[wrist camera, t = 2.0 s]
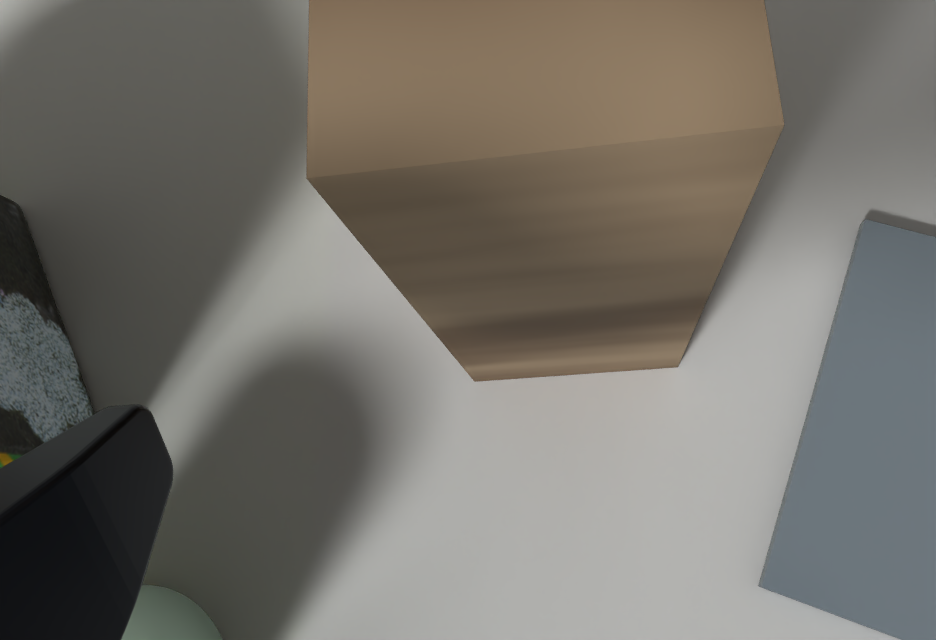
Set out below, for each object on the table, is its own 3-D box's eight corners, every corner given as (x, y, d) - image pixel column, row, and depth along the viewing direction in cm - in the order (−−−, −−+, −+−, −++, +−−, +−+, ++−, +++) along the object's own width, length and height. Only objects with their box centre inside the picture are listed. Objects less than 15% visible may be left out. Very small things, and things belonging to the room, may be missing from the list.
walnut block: (677, 366, 19) (783, 125, 8) (474, 381, 20) (305, 177, 9) (656, 178, 21) (722, -260, 9) (466, 198, 22) (311, -186, 10)
